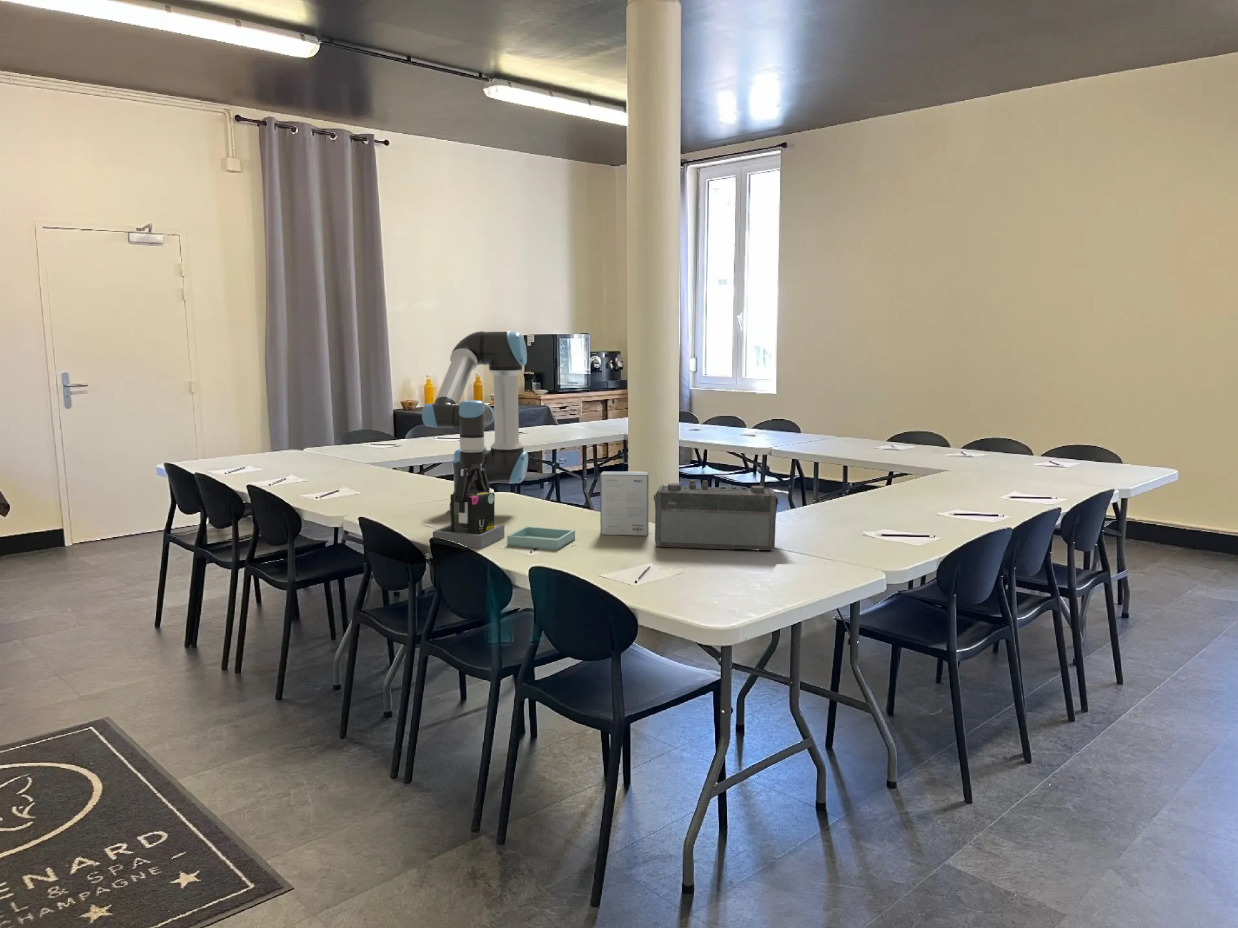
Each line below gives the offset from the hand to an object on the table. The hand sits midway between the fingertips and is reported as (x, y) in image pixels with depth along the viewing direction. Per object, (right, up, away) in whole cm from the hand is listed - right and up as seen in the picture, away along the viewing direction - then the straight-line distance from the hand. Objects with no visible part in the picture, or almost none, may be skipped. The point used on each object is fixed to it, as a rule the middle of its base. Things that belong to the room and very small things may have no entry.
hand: (472, 518), depth 279 cm
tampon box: (0, -7, +1) cm, 7 cm away
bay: (-1, -7, -1) cm, 7 cm away
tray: (+22, -7, -3) cm, 23 cm away
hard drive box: (+48, -6, +12) cm, 49 cm away
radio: (+75, -8, -3) cm, 76 cm away
